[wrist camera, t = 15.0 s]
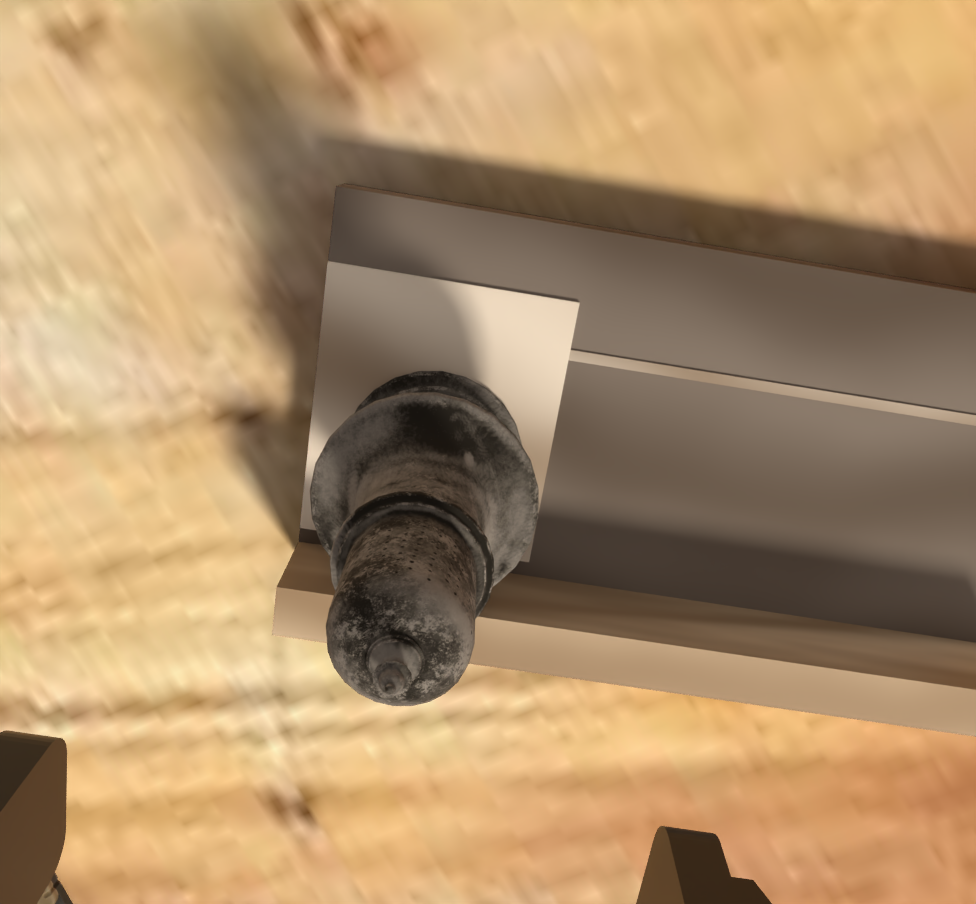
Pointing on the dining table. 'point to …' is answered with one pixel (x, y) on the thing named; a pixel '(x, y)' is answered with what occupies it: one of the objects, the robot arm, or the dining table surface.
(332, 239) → the board
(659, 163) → the dining table surface
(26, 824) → the robot arm
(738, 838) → the dining table surface
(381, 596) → the dark stone finial
